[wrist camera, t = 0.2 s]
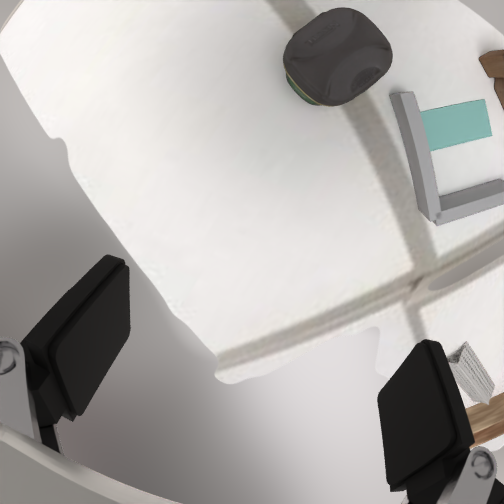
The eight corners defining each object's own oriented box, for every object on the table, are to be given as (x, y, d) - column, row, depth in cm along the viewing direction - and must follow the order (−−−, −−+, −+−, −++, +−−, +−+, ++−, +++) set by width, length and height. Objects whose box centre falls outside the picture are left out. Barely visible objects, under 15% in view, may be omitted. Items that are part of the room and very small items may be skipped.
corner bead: (435, 360, 57) (441, 376, 53) (467, 337, 53) (474, 352, 49) (471, 400, 63) (475, 413, 59) (495, 383, 59) (501, 395, 55)
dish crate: (464, 409, 64) (471, 433, 56) (524, 381, 58) (534, 402, 50) (458, 429, 70) (464, 450, 62) (514, 404, 63) (522, 424, 55)
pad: (417, 112, 36) (417, 113, 36) (483, 99, 32) (484, 99, 32) (427, 151, 38) (428, 152, 38) (491, 135, 34) (492, 135, 34)
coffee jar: (316, 114, 39) (331, 123, 22) (277, 73, 37) (262, 53, 20) (367, 74, 35) (415, 58, 18) (328, 32, 33) (348, -13, 16)
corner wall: (389, 94, 35) (400, 94, 31) (480, 77, 31) (497, 77, 26) (419, 215, 43) (431, 227, 38) (500, 189, 38) (516, 199, 33)
